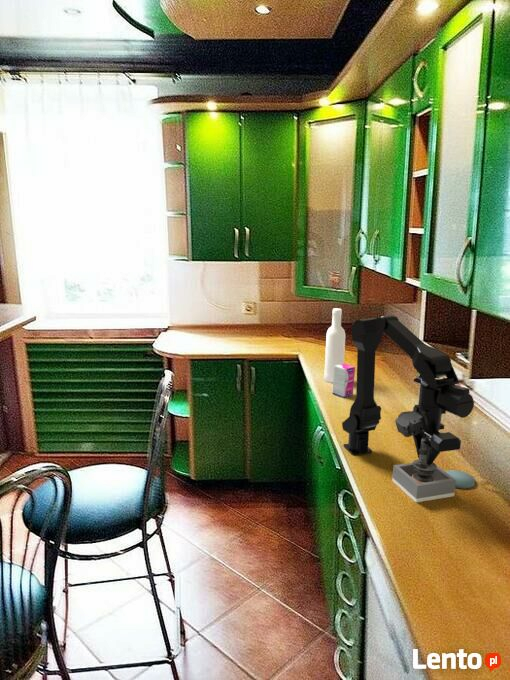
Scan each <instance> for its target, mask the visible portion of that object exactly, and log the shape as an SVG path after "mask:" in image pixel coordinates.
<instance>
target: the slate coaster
mask: <svg viewBox="0 0 510 680" xmlns="http://www.w3.org/2000/svg"><path fill="white" fill-rule="evenodd" d="M444 471H445V472H446V473H448V474H449V475H450V476H451V477H453V478H454V479H455V480H456V485H455V489H461V490H464V489H465V490H466V489H471V488H474V486H475V485H476V479H475V477H474V476H472V475H471V474H469V473H467V472H464V471H460V470H455V469H450V470H444Z"/></svg>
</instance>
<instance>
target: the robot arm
mask: <svg viewBox="0 0 510 680" xmlns="http://www.w3.org/2000/svg"><path fill="white" fill-rule="evenodd" d="M383 333H384V334H385V335H386V336H387V337H388V338H389V339H390V340H391V341H392V342H393V343H394V344H395V345H396V346H398V348H400V349H401V350H402V351H403V352H404V353H405V354H406V355H407V356H408V357H410V359H411V361H412V366H413V368H414V369H415V371H416V372H417V373H418V376H417V377H415V378H413V381H414V383H417V384H419V395H418V402H417V404H414V406H413V408H412V409H413V410H410V411H409V410H408V411H401V413H400V414H398V417H397V418H395V420H394V422H395V425H396V430H397V432H398V433H400V434H401V435H403V436H404V437H405V438H409V437H412V438H413V440H414V445H415V449H416V454H417V458H418V459H419V455H420V452H419V449H420V448H421V439H422V438H423V437H426V435H428V437H430V439H429V441H423V443H424V444H425V445H426V446H427V465H431V464H432V463H435V461H436V459H437V457H439V455H440V453H441V452H449V451H456V450H457V451H458V450H461V445H462V440H461V439H460V438H459V437H458V436H456V435H455V434H454V433H452V432H451V431H449V432H441V431H440V430H445V424H443V423H442V416H443V415H445V414H447V412H448V413H450V414H452V415H454V416H457V417H459V418H461V419H462V418H464V419H465V418H467V417H468V416H469V415H470V414H471V413H472V411H473V409H474V407H475V406H474V405H475V401H474V398H473V396H472V395H471V393H470V388H467V387H464V386H460V385H459V384H460V381H459V377H458V375H457V374H456V371H455V369H454V367H453V364H452V359H451V357H450V356H449V355H448V354H446V353H445V352H443V351H441V350H440V349H438V348H435V347H432V346H429V345H428V344H425V342H423V341H422V340H421V339H420V338H419V337H417V335H416V334H414V333H413V332H412V331H411V330H410V329H409V328H407V326H405V325H404V324H403V323H402V322H401V321H400V320H399V318H398V316H397V315H393V314H392V315H390V314H389V315H381V316H380V317H377V318H376V317H372V318H362V319H356V320H355V321H354V322H353V323H352V324H351V338H352V339H351V340H352V343H353V344H354V346H355V348H356V350H357V357H356V358H357V361H356V391H355V392H356V393H355V394H356V395H355V400H354V401H353V403H352V404H351V406H350V410H349V416H348V417H347V418H346V419H345V420H344V421H342V422H341V426H342V431H343V432H346V433H347V434H348V443H344V444H343V447H344V448H345V449H346V450H347V451H348V452H349V453H350V454H351V455H353V456H355V455H363V454H364V455H365V454H369V453H370V454H371V453H373V449H371V448H370V447H369V443H370V442H369V439H370V438H369V437H370V435H369V433H370V432H371V431H375V430H376V429H377V425H379V424H380V421H381V420H382V416H381V413H382V412H381V411H382V407H381V405H378V404H377V402H376V401H375V379H376V378H375V377H376V375H375V374H376V352H377V351H376V350H377V348H378V347H379V346H380V344H381V342H382V338H383ZM441 377H442V378H441ZM443 377H444V378H443ZM436 378H437V379H436ZM438 378H440V379H438Z"/></svg>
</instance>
